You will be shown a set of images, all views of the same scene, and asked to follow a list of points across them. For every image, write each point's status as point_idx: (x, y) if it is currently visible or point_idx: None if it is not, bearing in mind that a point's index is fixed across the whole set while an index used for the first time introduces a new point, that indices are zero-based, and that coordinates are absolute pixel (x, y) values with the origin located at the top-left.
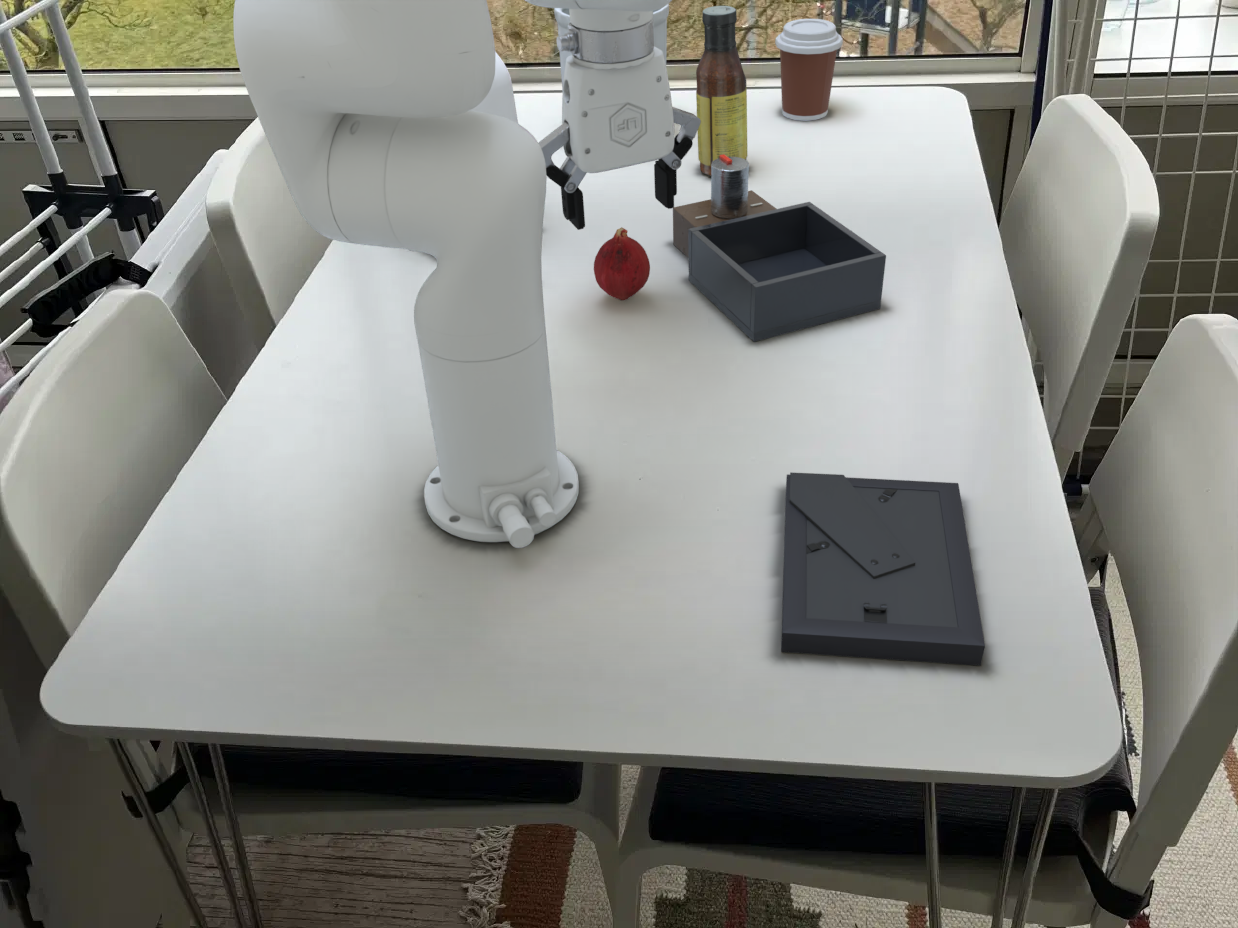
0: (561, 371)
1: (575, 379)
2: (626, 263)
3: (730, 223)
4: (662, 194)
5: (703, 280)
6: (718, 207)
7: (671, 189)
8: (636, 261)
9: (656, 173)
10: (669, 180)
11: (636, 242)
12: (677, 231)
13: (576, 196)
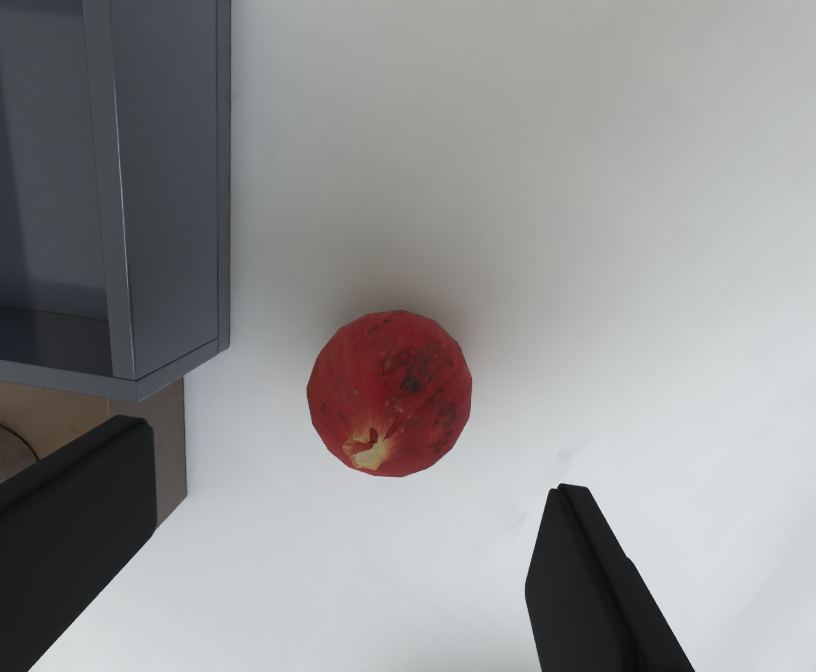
0: (727, 140)
1: (726, 79)
2: (406, 346)
3: (3, 359)
4: (118, 493)
5: (209, 275)
6: (4, 472)
7: (51, 464)
8: (370, 341)
9: (48, 621)
10: (4, 502)
11: (329, 407)
12: (159, 504)
13: (674, 644)
